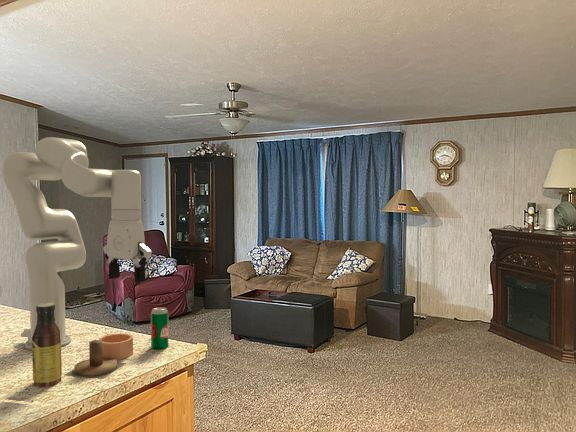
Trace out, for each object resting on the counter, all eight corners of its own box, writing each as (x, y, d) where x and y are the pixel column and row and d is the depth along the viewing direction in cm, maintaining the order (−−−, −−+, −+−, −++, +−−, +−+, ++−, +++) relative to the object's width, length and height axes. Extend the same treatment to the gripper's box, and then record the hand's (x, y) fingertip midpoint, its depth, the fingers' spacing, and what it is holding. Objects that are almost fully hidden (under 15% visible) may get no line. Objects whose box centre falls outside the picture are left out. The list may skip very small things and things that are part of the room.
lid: (65, 374, 118) (65, 346, 118) (90, 360, 128) (90, 334, 128) (102, 378, 116) (102, 349, 116) (124, 363, 126) (124, 337, 126)
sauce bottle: (40, 379, 116) (38, 300, 115) (66, 379, 117) (64, 300, 116) (27, 390, 110) (26, 307, 109) (55, 389, 110) (54, 306, 109)
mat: (63, 376, 118) (63, 374, 118) (90, 361, 129) (90, 359, 129) (102, 380, 116) (102, 378, 116) (126, 364, 127) (126, 363, 127)
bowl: (91, 360, 130) (91, 342, 130) (110, 349, 139) (110, 332, 139) (121, 363, 128) (121, 344, 128) (139, 352, 137) (138, 334, 137)
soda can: (163, 351, 137) (163, 311, 137) (147, 350, 138) (147, 310, 138) (171, 346, 142) (171, 307, 142) (156, 345, 143) (155, 306, 143)
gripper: (92, 215, 125) (93, 278, 126) (138, 217, 117) (139, 285, 118) (115, 214, 132) (116, 274, 133) (160, 216, 123) (160, 280, 124)
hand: (126, 279), depth 125 cm, fingers open, 9 cm apart
